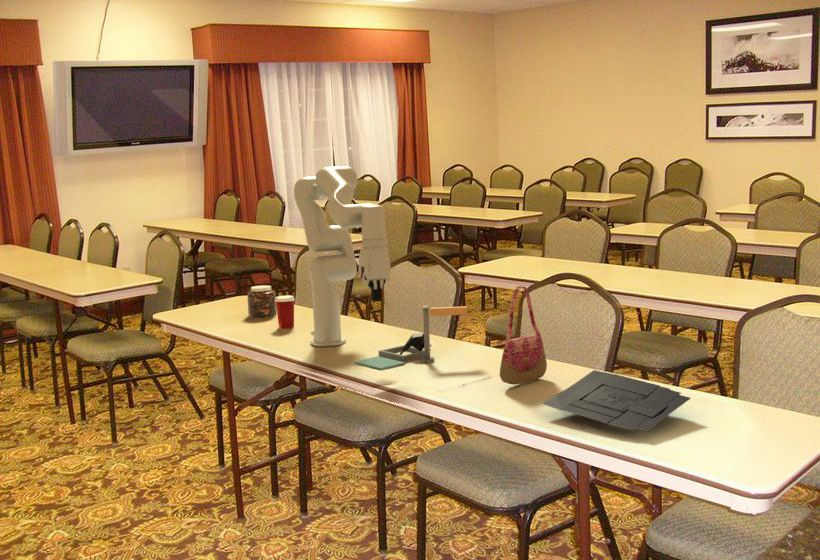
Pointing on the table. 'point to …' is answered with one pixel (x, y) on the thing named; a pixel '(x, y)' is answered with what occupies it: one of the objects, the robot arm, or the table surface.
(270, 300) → the jar
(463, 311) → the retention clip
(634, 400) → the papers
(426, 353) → the plug dock
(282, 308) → the paper cup
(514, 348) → the shoulder bag
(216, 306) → the table surface
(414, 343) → the power plug
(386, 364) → the mat
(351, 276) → the robot arm
